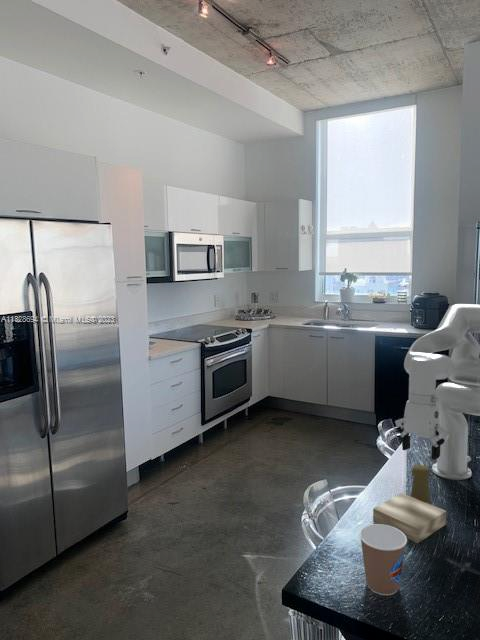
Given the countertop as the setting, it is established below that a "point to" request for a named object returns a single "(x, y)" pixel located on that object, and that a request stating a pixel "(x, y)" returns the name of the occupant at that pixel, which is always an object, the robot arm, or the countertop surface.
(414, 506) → the birch plinth
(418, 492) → the olive tall waisted piece
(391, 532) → the coffee cup
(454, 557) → the countertop surface
